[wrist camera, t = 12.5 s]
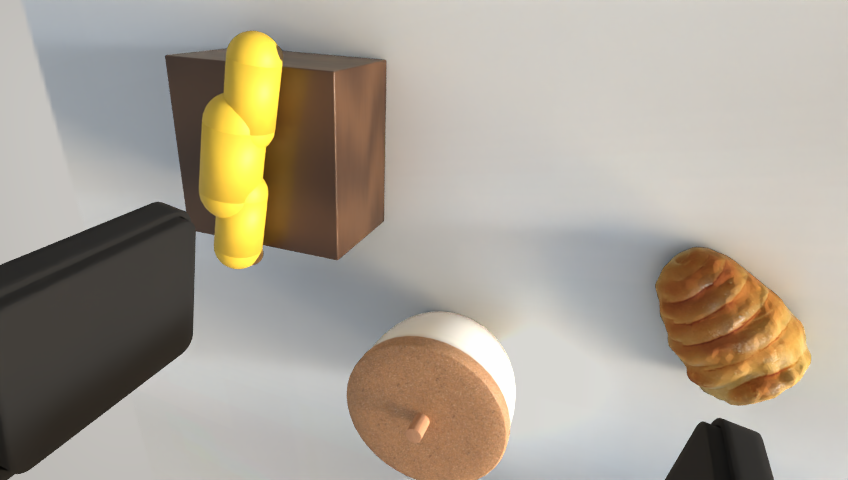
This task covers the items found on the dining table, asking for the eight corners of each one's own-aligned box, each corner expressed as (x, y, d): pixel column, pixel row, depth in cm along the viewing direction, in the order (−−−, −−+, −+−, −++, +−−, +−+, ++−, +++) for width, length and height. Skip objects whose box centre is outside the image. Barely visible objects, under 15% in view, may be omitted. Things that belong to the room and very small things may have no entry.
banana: (215, 16, 29) (198, 25, 26) (291, 33, 30) (282, 44, 27) (203, 245, 36) (188, 274, 33) (266, 255, 36) (256, 283, 33)
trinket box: (498, 271, 38) (459, 344, 30) (550, 402, 40) (528, 502, 32) (369, 304, 43) (306, 374, 35) (423, 419, 45) (375, 510, 37)
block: (239, 46, 38) (164, 54, 32) (387, 59, 35) (334, 71, 29) (252, 198, 43) (188, 230, 37) (384, 221, 40) (337, 261, 34)
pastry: (625, 274, 35) (624, 302, 32) (732, 220, 32) (744, 245, 28) (707, 389, 36) (714, 427, 33) (819, 347, 33) (839, 386, 29)
